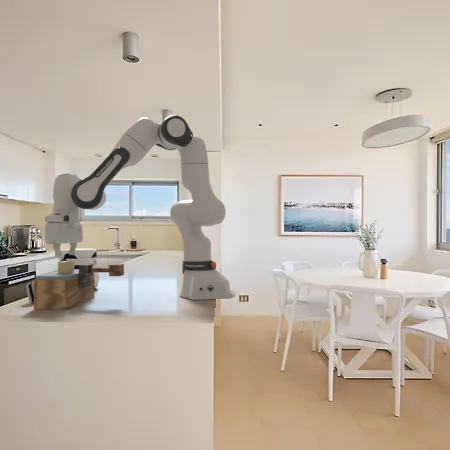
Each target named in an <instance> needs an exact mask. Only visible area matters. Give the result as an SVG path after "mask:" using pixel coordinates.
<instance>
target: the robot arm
mask: <svg viewBox="0 0 450 450" xmlns="http://www.w3.org/2000/svg"><path fill="white" fill-rule="evenodd" d="M205 143H206V142H205V140H204V139H203V138H201V137H199V136H194V133H193V131H192V129H191V128H190V125H189V124H188V122H187V121H186V119H184V117H182V116H180V115H170V116H169V115H168V116H167V117H166V118H165V119H163V120H162V122H161V123H156V122H155V121H154V120H152V119H150V118H148V117H141V118H139V119H138V120H137V121H135V122H134V123H133V124H132V125H130V127H128V129H127V130H126V131H125V132H124V133H123V135H121V136H120V138H119V140H118V141H117V142H116V144H115V146H114V147H113V148H112V150H111V151H110V152H109V154H108V156H107V157H106V158H105V159H104V160H103V161H101V163H100V164H99V165H98V166H97V168H96V169H95V170H94V171H93V172H92V173H91V174H90V175H89V176H87V177H85V178H82V177H80V176H79V175H78V174H76V173H63V174H59V175H57V176H56V177H55V179H54V183H53V190H52V191H53V192H52V199H53V207H52V212H51V213H49V214H47V215H45V217H44V222H45V225H44V226H45V227H44V237H45V239H44V240H45V242H46V244H47V245H52V247H53V251H54V256H55V257H58V258H59V257H60V256H62V252H61V250H62V249H61V247H62V244H69V246H70V247H69V249H70V250H69V255H75V250H76V249H77V247H78V243H82V242H83V239H84V235H83V234H84V231H83V225H82V224H81V222H80V209H83V210H95V211H96V210H98V209H100V208H102V207H103V206H104V204H105V203H106V201H107V196H106V195H107V194H106V191H105V189H106V188H107V186H108V185H109V184H110V183H111V182H112V181H113V180H114V178H115V177H116V176H117V175H118V174H119V173H120V172H121V171H123V170H124V169H126V168H129V167H134V166H136V165H137V164H139V163H140V162H141V161H142V160H143V159H144V158H145V157H146V156H147V154H148V153H149V152H150V150H151V149H152V148H153V147H154V146H157V147H160V148H161V149H164V150H166V151H174V150H177V151H178V153H179V157H180V170H181V171H180V172H181V175H180V176H181V184H182V186H183V188H185V189H186V190H188V192H190V195H191V198H192V199H184V200H180V201H177V202H175V203H173V204H172V206H171V208H170V215H169V216H170V219H171V221H172V222H173V224H175V225H176V226H177V228H178V230H179V232H180V235H181V239H182V243H183V244H182V246H183V260H182V266H181V267H182V269H181V271H182V285H181V288H180V293H179V296H180V297H182V298H185V299H189V300H194V301H195V300H196V301H197V300H198V301H199V300H201V301H202V300H203V301H204V300H228V299H229V300H230V299H233V298H235V297H236V292H235V290H233V289H231V286H230V282H229V279H228V278H227V277H226V276H225V275H223V274H222V273H221V272H220V271H218V270H217V262H216V261H214V260H212V242H211V240H210V239H209V238H208V236H206V235H205V234H204V232H203V230H202V227H212V226H216V225H220V224H221V223H223V222H224V220H225V218H226V213H227V212H226V206H225V205H224V203H223V202H222V201H221V200H220V199H219V198H218V197H217V196H216V195H215V193H214V190H213V189H212V186H211V181H210V169H209V156H208V150H207V145H206V144H205Z"/></svg>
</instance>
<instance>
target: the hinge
mask: <svg viewBox="0 0 450 450" xmlns="http://www.w3.org/2000/svg"><path fill="white" fill-rule="evenodd" d="M34 280H35V279H32V280H31V281H30V282H28V283H27V284H26V285H25V289H26V294H27V298H28V302H29V304H30V305H31V304H34Z"/></svg>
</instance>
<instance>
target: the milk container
mask: <svg viewBox="0 0 450 450" xmlns="http://www.w3.org/2000/svg"><path fill="white" fill-rule="evenodd" d="M60 250H61V252H62V256H60V257H58V258H59V259H58V262H62V261H74V269H79V265H82V264H93V268H94V267H98V258H97V257H98V253H97V252H98V251H97V249H96V248H90V247H89V248H86V247H85V248H84V247H83V248H76V250H75V255H69V250H70V248H63V249H60ZM99 283H100V274H99V272H94V289H95V288H97V287H98V285H99Z"/></svg>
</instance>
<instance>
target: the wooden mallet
mask: <svg viewBox="0 0 450 450" xmlns="http://www.w3.org/2000/svg"><path fill="white" fill-rule="evenodd" d="M91 272H98V273H108V276H109V277H122V276H124V275H125V264H124V263H111V264H109V265H108V267H106V266H105V267H101V266H100V267H99V266H97V267H94V268H91Z"/></svg>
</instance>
